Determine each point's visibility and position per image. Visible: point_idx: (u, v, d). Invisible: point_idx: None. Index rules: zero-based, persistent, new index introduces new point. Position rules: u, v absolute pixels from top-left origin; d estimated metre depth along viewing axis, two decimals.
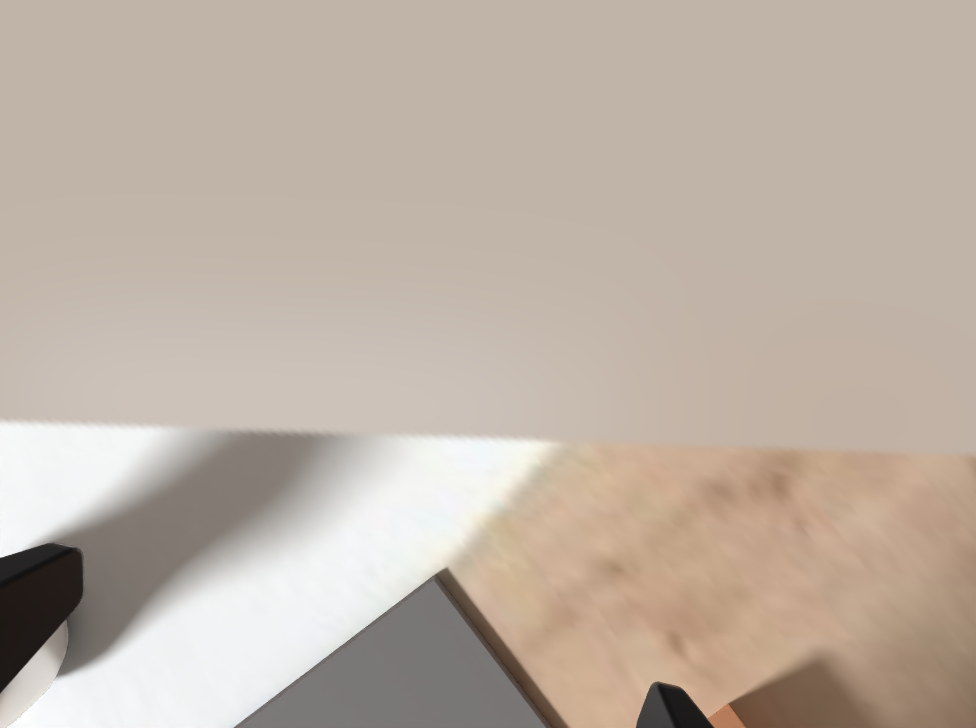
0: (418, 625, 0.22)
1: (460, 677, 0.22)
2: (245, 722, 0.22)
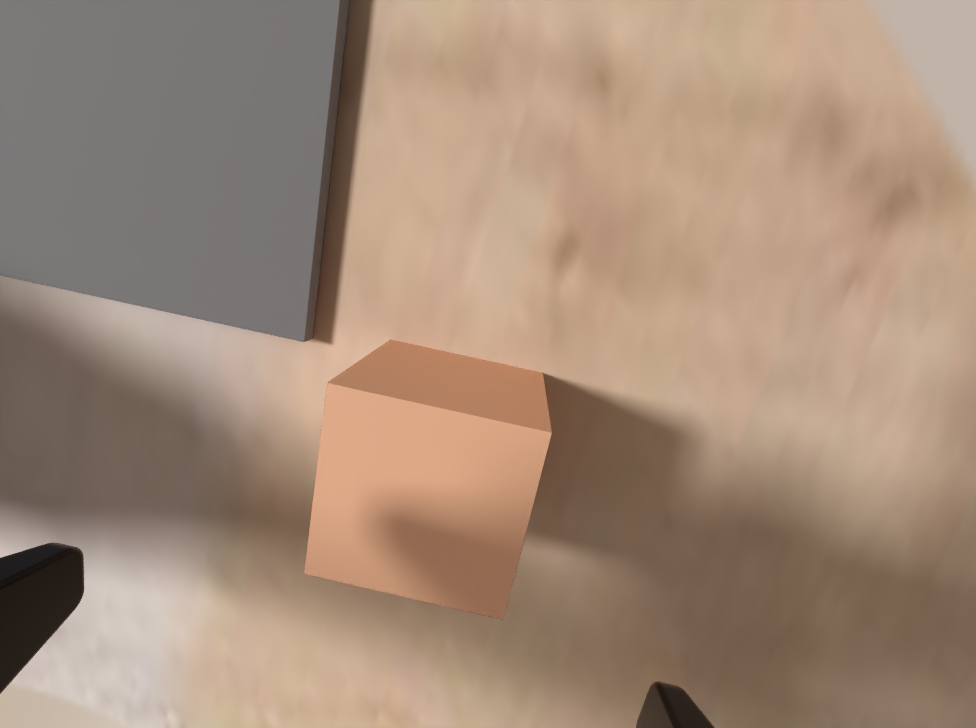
0: None
1: None
2: None
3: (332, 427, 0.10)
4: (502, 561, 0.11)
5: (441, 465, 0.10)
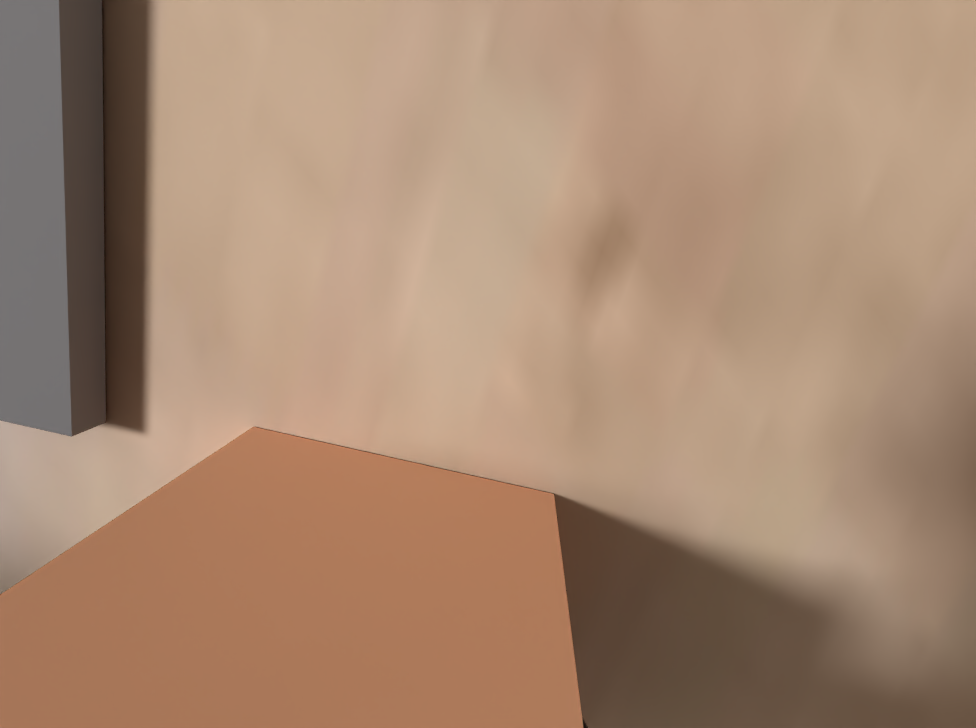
0: None
1: None
2: None
3: None
4: None
5: None
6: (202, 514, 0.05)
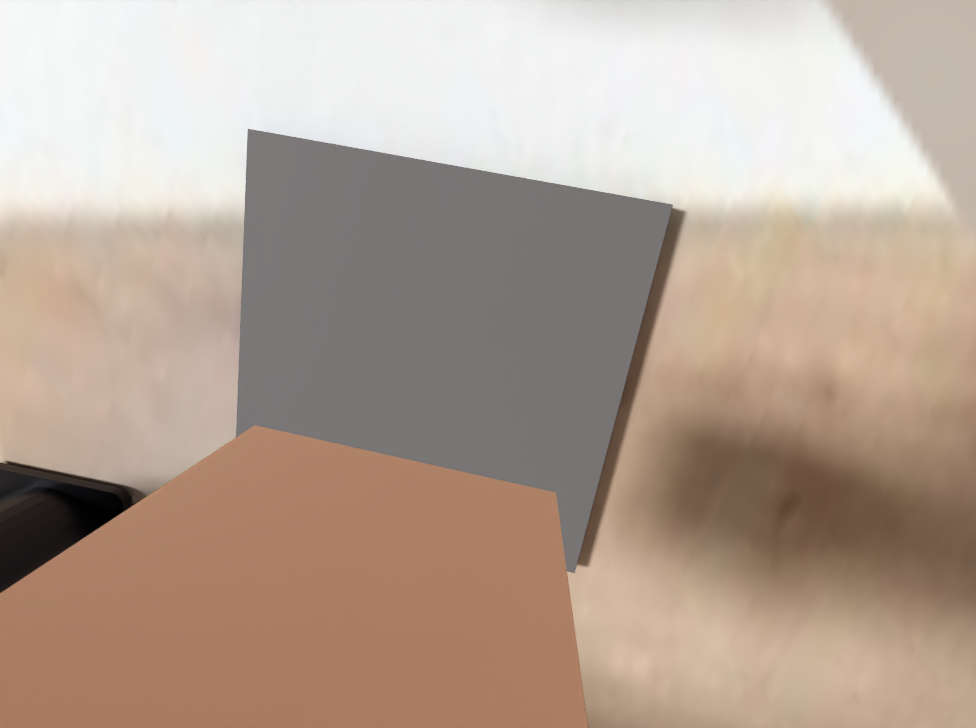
0: (604, 235, 0.15)
1: (585, 329, 0.16)
2: None
3: None
4: None
5: None
6: (204, 512, 0.05)
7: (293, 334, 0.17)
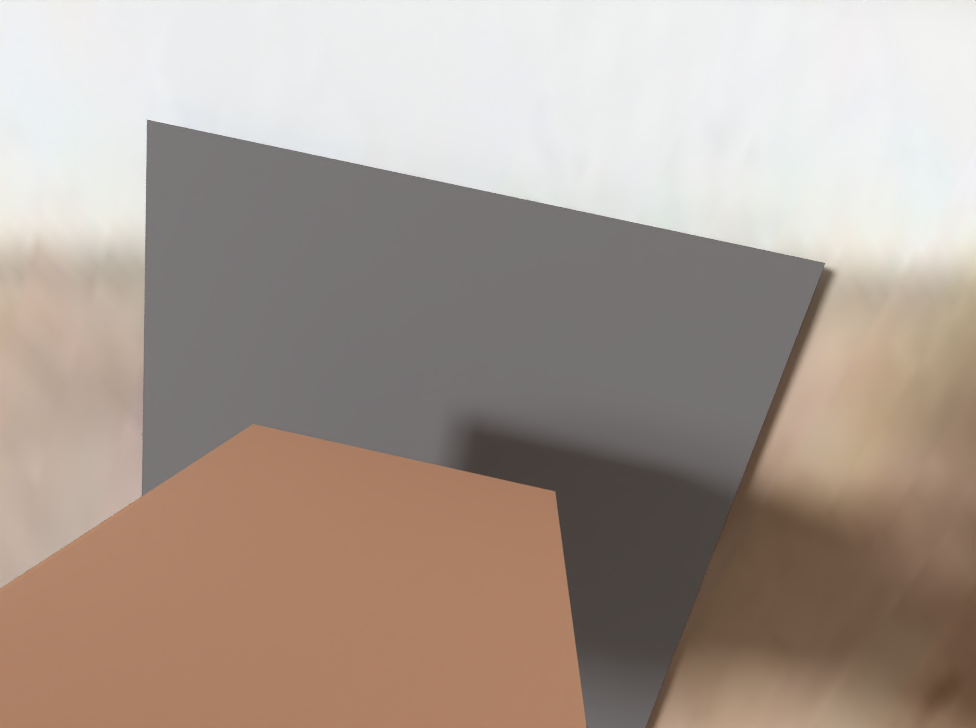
0: (710, 305, 0.10)
1: (668, 444, 0.10)
2: None
3: None
4: None
5: None
6: (201, 511, 0.05)
7: (223, 432, 0.11)
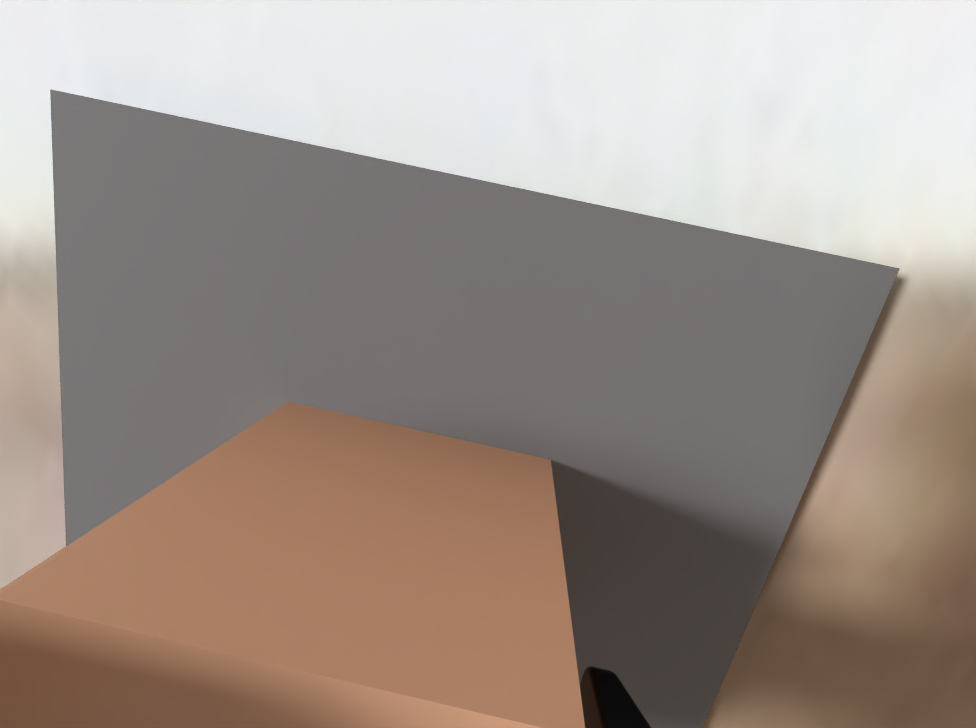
0: (753, 321, 0.08)
1: (698, 489, 0.08)
2: (203, 122, 0.08)
3: (24, 696, 0.04)
4: None
5: None
6: (258, 465, 0.06)
7: (158, 472, 0.09)
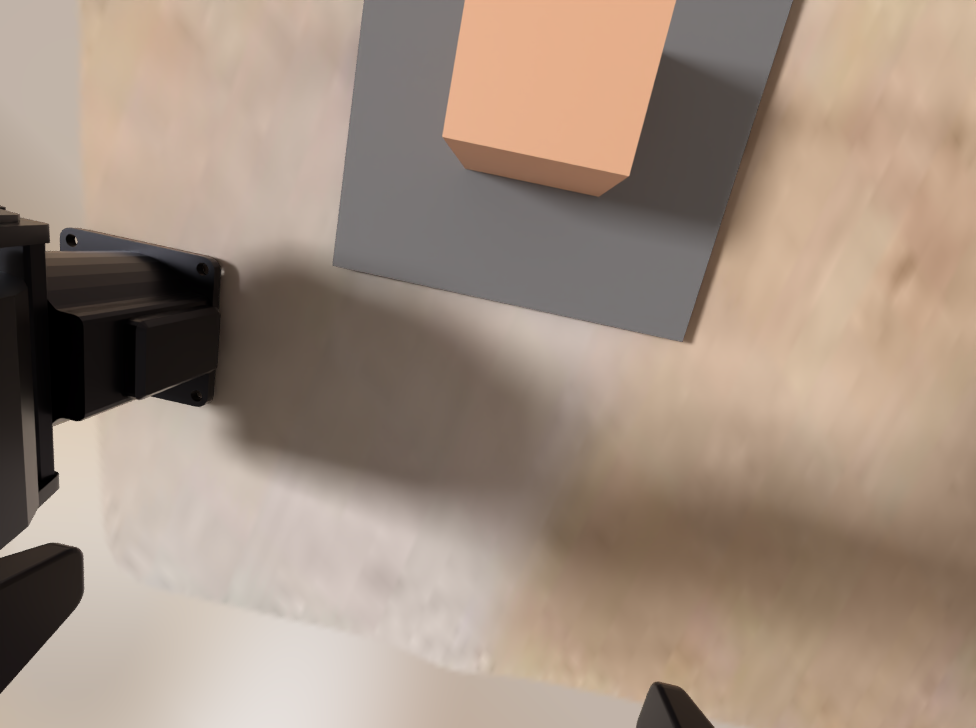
0: None
1: (718, 57, 0.16)
2: None
3: None
4: (633, 106, 0.12)
5: None
6: None
7: (412, 67, 0.16)
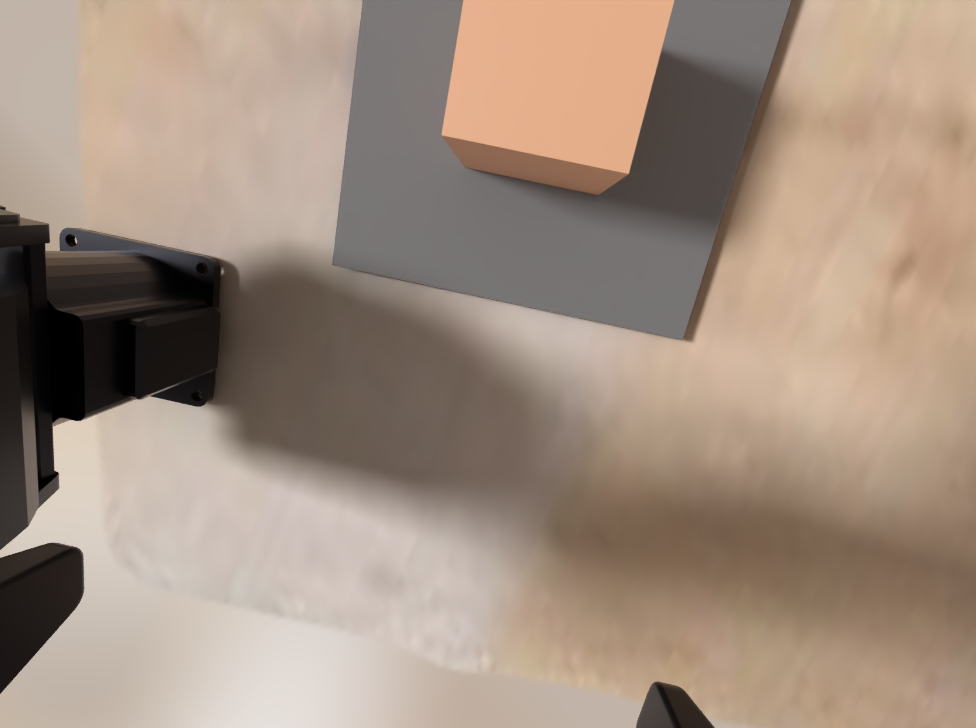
0: None
1: (717, 55, 0.16)
2: None
3: None
4: (632, 104, 0.12)
5: None
6: None
7: (411, 66, 0.16)
